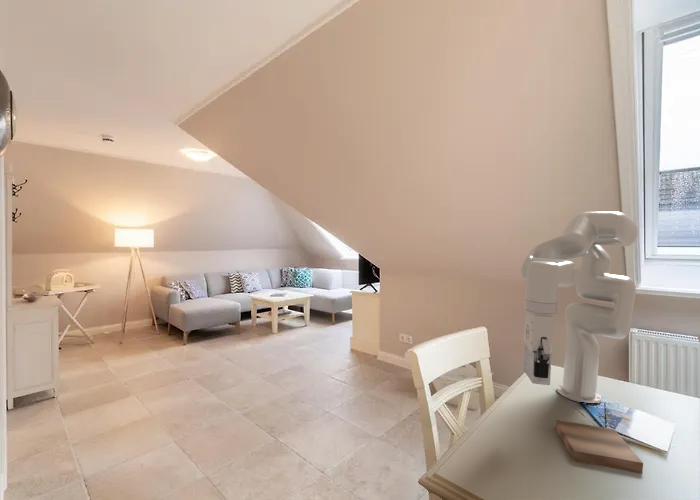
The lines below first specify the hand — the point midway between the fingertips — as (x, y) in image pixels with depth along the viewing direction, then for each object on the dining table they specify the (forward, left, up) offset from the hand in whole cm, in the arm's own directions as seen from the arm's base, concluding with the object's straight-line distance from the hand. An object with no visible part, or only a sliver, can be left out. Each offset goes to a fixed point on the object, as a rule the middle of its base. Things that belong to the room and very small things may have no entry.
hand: (536, 370), depth 93 cm
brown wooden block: (+3, +14, -17) cm, 22 cm away
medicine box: (0, 0, -3) cm, 3 cm away
